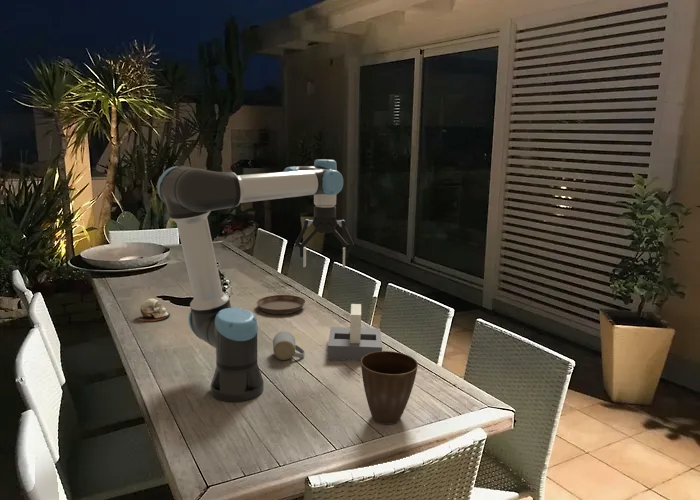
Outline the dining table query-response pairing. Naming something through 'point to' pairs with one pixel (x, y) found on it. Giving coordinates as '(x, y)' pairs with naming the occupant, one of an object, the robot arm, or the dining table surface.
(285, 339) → the ceramic mug
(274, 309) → the plant saucer
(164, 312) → the skull
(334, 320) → the dining table surface
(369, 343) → the plate
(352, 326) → the bar
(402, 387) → the plant pot
